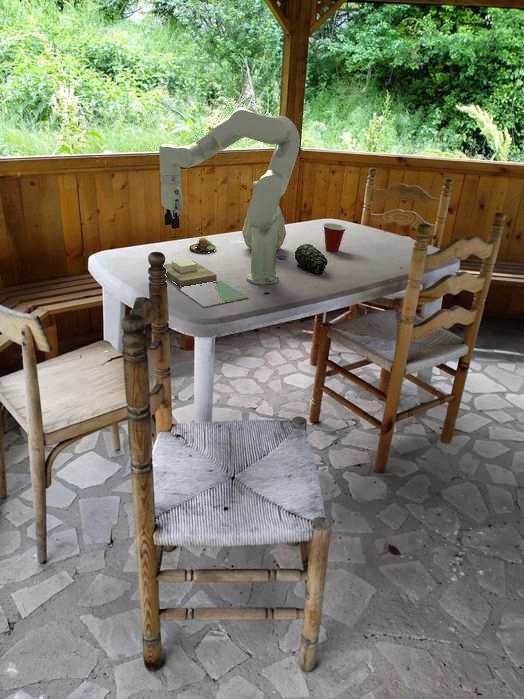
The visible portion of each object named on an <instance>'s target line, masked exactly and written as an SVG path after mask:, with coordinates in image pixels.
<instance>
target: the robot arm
mask: <svg viewBox="0 0 524 699" xmlns="http://www.w3.org/2000/svg"><path fill="white" fill-rule="evenodd" d="M244 138H246V139H249V140H253V141H257V142H260V143H263V144H267V145H275V148H274V150H273V154H272V156H271V159H270V162H269V165H268V168H267V170H266V172H265V174H263V175H262V176H261V177H259V179H258V180H257V181H258V182H257V185H256V187H255V189H253V190H254V191H253V194H252V196H251V199H250V202H249V206H248V208H247V211H246V212H247V213H246V215H247V220H248V223H249V224H250V226H251V227H253V230H252V249H251V252H250V253H251V260H250V273H248V274H247V275H246V280H247V281H248V282H249V283H252V284H256V285H263V286H265V285H273V284H276V283H278V281H279V279H280V278H279V275H277V270H276V259H277V250H276V245H277V231H278V222H279V214H280V211H279V207H280V205H279V206H278V204H279V202H280V200H281V198H282V196H283V195H284V194H285V193H286V191H287V188H288V185H289V183H290V182H289V181H290V179H291V176H292V173H293V171H294V167H295V164H296V161H297V158H298V155H299V152H300V151H299V150H300V143H301V139H300V134H299V130H298V128H297V127H296V125H295V123H294V122H293V121H292V120H291V119H290V118H288V116H285V115H275V116H269V115H265V114H260V113H258V112H257V111H256V110H255V108H253V107H251V106H250V107H249V106H244V107H239V108H237V109H236V110H234V111H232V113H231V114H230V115H229V116H228V117H226V118H224V119H223V120H221V121H220V122H218V123H216V124H214V125H213V126H212V127H211V129H210V131H209V132H208V133H207V134H205V135H204V136H202V137H201V138H199V139H197V140H196V141H194V142H192V143H191V144H187V145H183V146H179V145H178V144H172V143H163V144H161V145H160V146H159V149H158V150H159V152H158V153H159V172H160V174H159V175H160V176H159V177H160V178H159V179H160V186H161V187H160V188H161V190H160V197H161V198H160V200H161V206H162V208H163V216H164V218H163V219H164V226H169V225H171V227H170V228H171V229H173V230H174V229H179V228H181V226H180V218H181V213H182V211H183V209H184V203H183V202H184V201H183V191H182V186H181V184H182V183H181V168H184V169H191V168H192V167H194V166H197V165H200V164H201V163H203V162H204V161H207V160H208V159H210V158H211V157H214V155H216V154H218V153H220V152H221V151H225V149H228V148H229V147H231V146H232V145H234V144H235V143H237V142H238V141H240V140H242V139H244Z"/></svg>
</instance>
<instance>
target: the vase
mask: <svg viewBox="0 0 524 699" xmlns="http://www.w3.org/2000/svg"><path fill="white" fill-rule="evenodd" d="M258 181H259V180H255V181H253V182H252V184H251V186H252V189H253V190H255V187H256V185H257V182H258ZM278 206H279V211H280V214H279V222H278V231H277V245H276V251H277V250H278V249H280V248H281V247H282V246H283V244H284V241H285V239H286V235H287V231H286V226H285V217H284V215H283V213H282V209H281V208H280V205H279V203H278ZM252 230H253V227H251V226H250V224H249V223H248V220H247V214H246V215H245V218H244V224H243V227H242V231H241V233H242V237H243V240H244V244H245V245H246V246H247V248H249V249H250V250H252Z"/></svg>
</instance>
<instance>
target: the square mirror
mask: <svg viewBox="0 0 524 699" xmlns="http://www.w3.org/2000/svg"><path fill="white" fill-rule="evenodd" d="M213 283H216V286H215V289H216V291H217V290H218V291H217V292H219V293H221V294H222V295H221V294H219V293H218V294H219V296H220V295H221V296H220V299H221V298H222V301H224V302H228V301H234V300H238V301H242V300H241V299H243V300H246V298H248V299H249V297H248V296H247V295H245V294H243V293H241V292H240V291H238V290H237V289H236V288H233V287H232V286H230V285H228V284H227V283H225V282H224V281H223V280H221V281H220V280H218V281H216V282H213ZM200 286H202V285H200ZM216 287H217V288H216ZM234 302H235V301H234ZM222 303H223V302H222Z"/></svg>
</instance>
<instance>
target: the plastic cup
mask: <svg viewBox="0 0 524 699" xmlns="http://www.w3.org/2000/svg"><path fill="white" fill-rule="evenodd" d="M322 226H323V230H324V231H323V233H324V244H325V251H326V252H327V253H331V254H332V253H333V254H334V253H338V252H339V250H340V246H341V243H342V240H343V236H344V234H345V231H346V230H347V229H348V228H347V227H346V226H345V225H342V224H339V223H331V222H330V223H329V222H327V223H323V224H322Z"/></svg>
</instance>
